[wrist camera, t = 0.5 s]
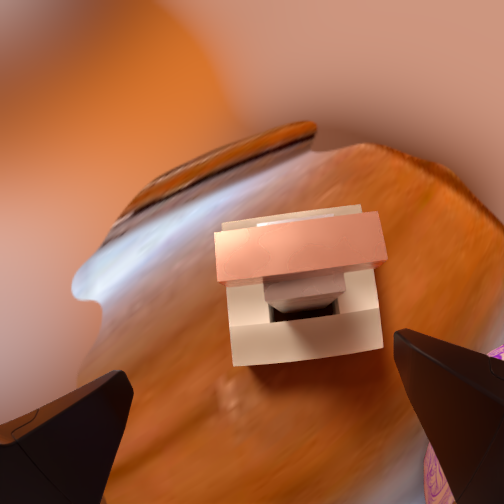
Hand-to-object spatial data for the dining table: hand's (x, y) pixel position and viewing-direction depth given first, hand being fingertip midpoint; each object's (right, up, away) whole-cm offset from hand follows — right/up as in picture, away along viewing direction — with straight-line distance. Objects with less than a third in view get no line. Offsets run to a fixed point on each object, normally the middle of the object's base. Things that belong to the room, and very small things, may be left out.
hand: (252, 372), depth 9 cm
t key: (+4, +1, +15) cm, 15 cm away
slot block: (+4, +1, +15) cm, 15 cm away
